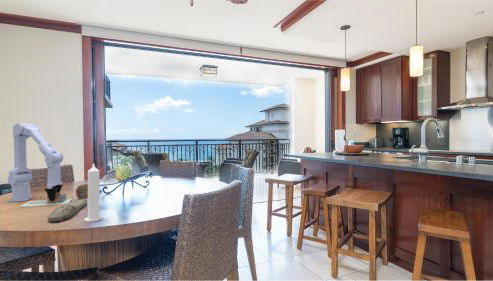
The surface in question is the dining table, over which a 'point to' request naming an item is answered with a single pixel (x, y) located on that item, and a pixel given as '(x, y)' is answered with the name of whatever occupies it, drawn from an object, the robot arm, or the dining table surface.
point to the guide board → (61, 201)
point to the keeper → (55, 197)
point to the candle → (93, 195)
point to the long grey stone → (66, 210)
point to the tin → (82, 191)
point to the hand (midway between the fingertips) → (54, 199)
